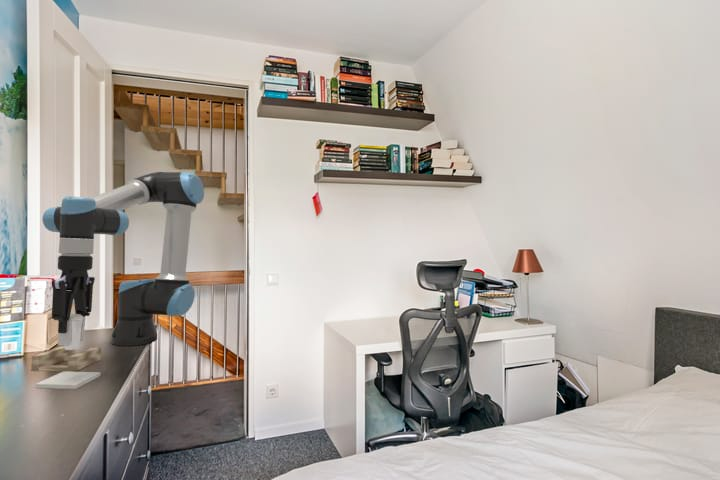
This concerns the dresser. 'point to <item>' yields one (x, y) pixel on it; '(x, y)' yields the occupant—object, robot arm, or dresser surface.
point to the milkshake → (75, 331)
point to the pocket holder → (64, 359)
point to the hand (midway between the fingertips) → (71, 342)
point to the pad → (68, 380)
